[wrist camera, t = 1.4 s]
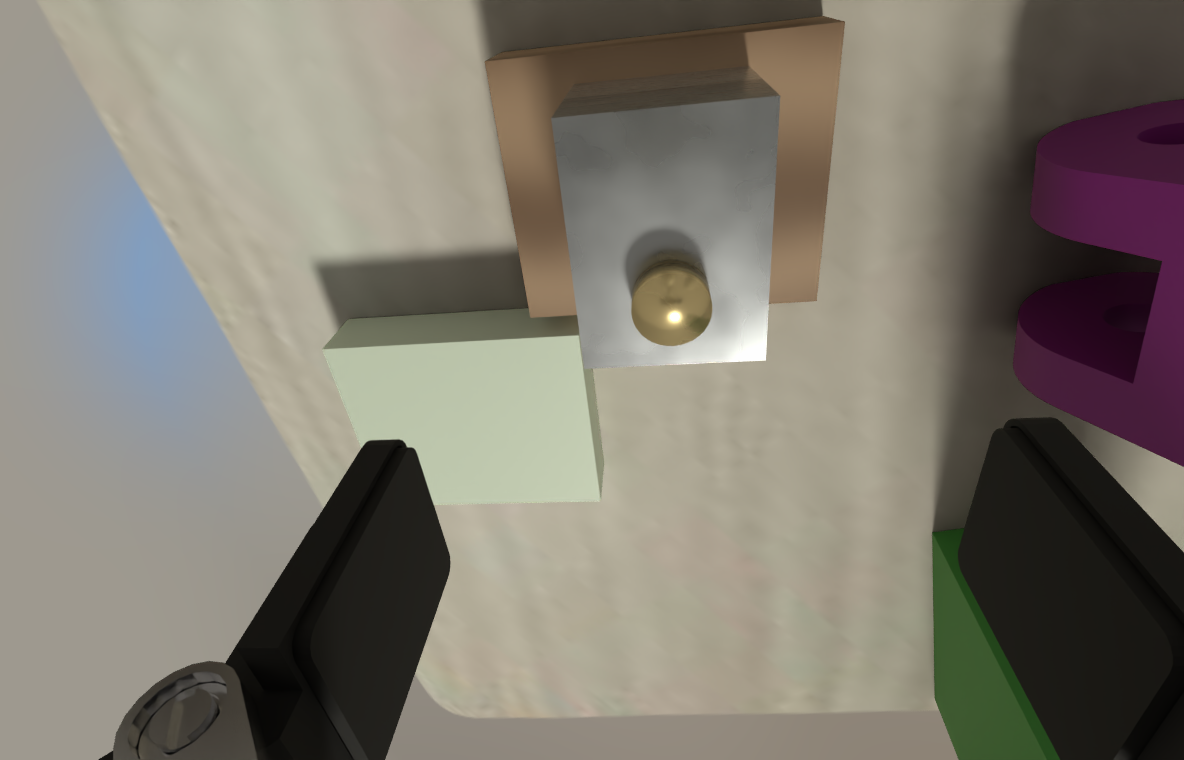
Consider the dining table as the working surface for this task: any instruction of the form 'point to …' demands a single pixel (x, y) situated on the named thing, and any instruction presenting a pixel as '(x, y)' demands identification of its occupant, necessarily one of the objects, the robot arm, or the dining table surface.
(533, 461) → the stand
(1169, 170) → the mounting bracket
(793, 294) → the stand
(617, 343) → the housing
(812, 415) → the dining table surface
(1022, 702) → the hardback book
